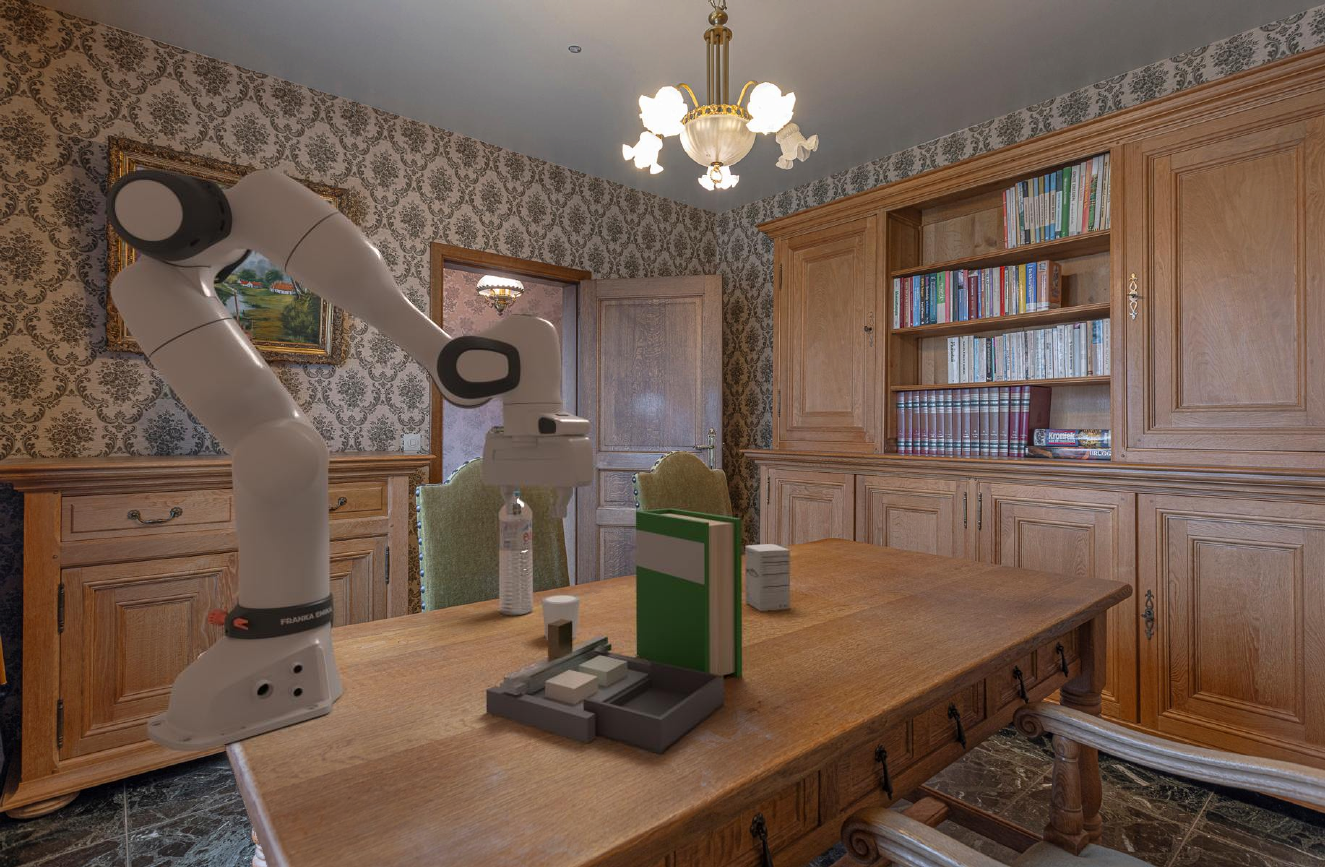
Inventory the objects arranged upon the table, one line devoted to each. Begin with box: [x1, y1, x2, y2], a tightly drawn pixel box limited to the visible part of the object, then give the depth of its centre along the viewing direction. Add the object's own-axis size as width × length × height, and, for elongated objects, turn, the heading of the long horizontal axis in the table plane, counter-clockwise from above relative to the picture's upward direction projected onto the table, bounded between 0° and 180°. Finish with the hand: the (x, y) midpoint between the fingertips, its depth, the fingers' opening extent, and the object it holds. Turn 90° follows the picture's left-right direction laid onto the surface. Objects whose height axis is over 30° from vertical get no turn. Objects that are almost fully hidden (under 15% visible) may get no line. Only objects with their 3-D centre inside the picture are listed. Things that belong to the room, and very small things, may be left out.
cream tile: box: [545, 670, 598, 704], centre depth 89 cm, size 5×5×2 cm
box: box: [583, 661, 725, 755], centre depth 86 cm, size 16×12×4 cm
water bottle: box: [498, 490, 534, 617], centre depth 137 cm, size 7×7×25 cm
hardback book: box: [635, 508, 743, 679], centre depth 105 cm, size 18×7×24 cm, turn 37°
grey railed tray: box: [485, 651, 652, 744], centre depth 92 cm, size 21×17×3 cm
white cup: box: [541, 594, 581, 640], centre depth 120 cm, size 7×7×7 cm
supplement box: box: [744, 543, 791, 612], centre depth 141 cm, size 7×7×13 cm
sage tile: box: [578, 655, 627, 686], centre depth 95 cm, size 5×5×2 cm
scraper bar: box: [499, 619, 612, 695], centre depth 94 cm, size 21×3×8 cm, turn 148°
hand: (536, 516), depth 99 cm, fingers open, 8 cm apart
